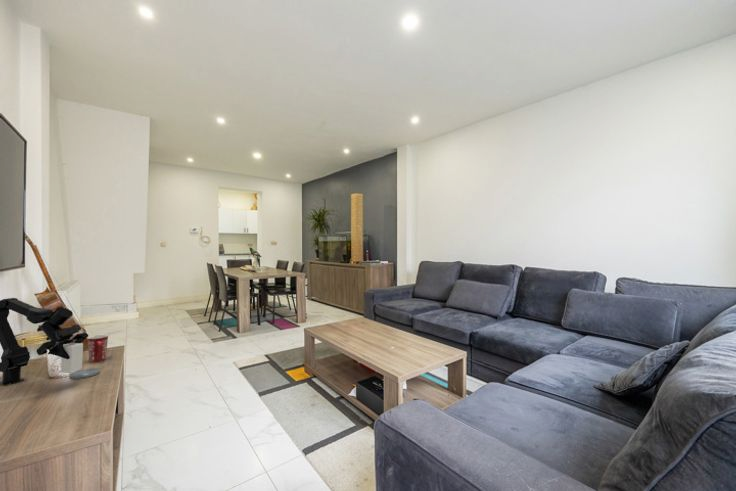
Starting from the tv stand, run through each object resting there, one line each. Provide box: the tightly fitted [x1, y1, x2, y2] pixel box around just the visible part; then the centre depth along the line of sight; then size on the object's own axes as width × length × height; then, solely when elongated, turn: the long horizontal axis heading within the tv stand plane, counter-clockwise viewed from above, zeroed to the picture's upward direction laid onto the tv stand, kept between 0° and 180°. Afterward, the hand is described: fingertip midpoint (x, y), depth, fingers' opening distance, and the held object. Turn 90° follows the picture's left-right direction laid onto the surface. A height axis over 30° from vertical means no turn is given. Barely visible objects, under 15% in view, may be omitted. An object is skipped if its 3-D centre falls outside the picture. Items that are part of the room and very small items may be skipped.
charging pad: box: [69, 367, 100, 380], centre depth 154 cm, size 11×11×1 cm
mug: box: [87, 334, 109, 363], centre depth 174 cm, size 13×9×14 cm
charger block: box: [60, 342, 84, 374], centre depth 143 cm, size 5×5×12 cm
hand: (74, 356), depth 142 cm, fingers closed on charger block, 5 cm apart
